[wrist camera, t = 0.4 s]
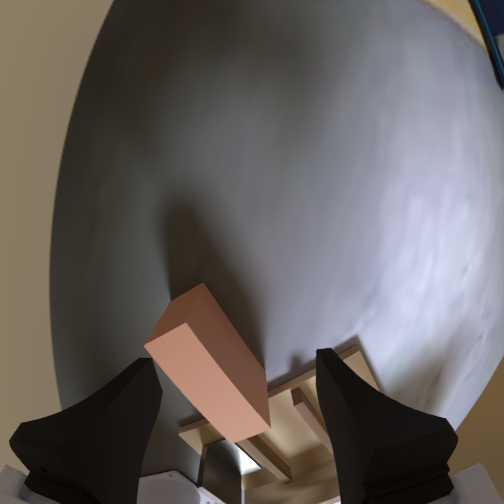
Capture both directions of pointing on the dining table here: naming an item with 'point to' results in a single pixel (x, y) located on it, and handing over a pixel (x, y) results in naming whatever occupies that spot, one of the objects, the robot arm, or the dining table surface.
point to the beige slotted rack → (289, 443)
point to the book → (493, 28)
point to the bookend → (224, 471)
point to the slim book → (211, 364)
